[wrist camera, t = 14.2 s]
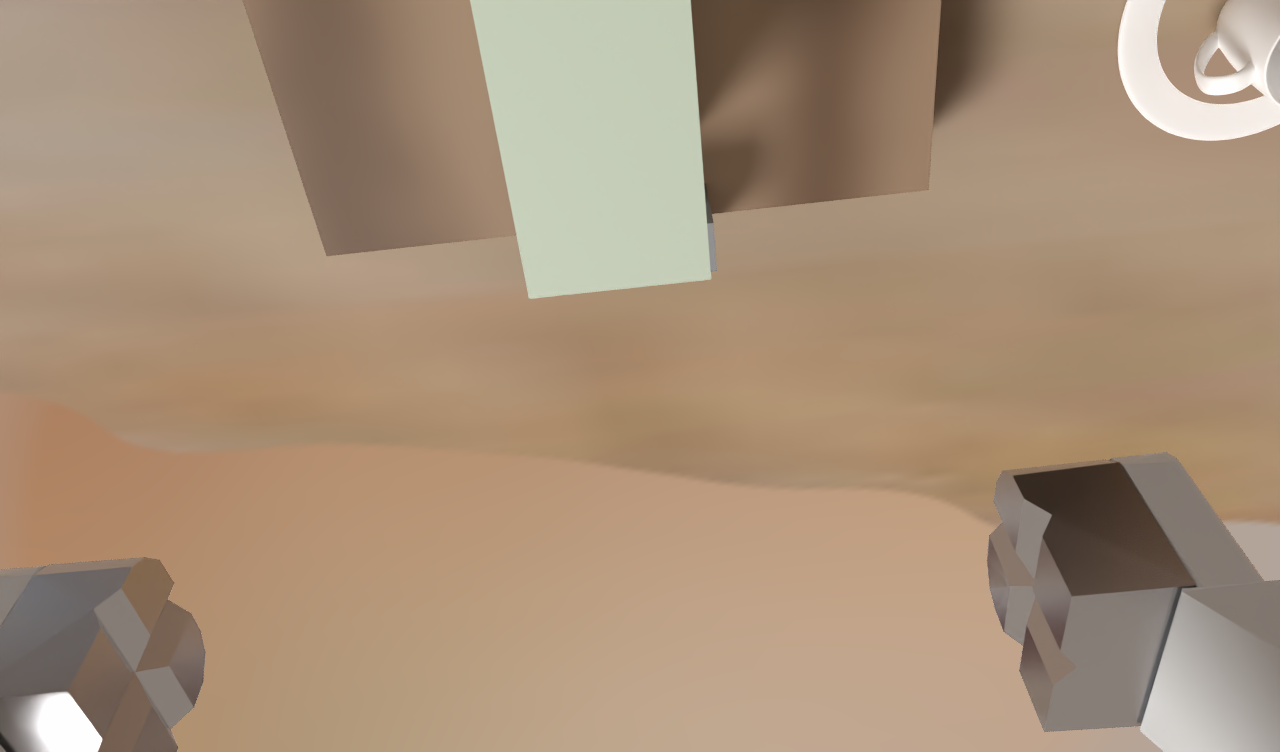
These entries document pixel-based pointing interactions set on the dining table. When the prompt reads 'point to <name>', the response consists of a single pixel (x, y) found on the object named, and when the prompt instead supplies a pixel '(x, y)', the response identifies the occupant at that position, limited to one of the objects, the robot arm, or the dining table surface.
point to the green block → (598, 140)
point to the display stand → (466, 136)
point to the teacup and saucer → (1248, 37)
